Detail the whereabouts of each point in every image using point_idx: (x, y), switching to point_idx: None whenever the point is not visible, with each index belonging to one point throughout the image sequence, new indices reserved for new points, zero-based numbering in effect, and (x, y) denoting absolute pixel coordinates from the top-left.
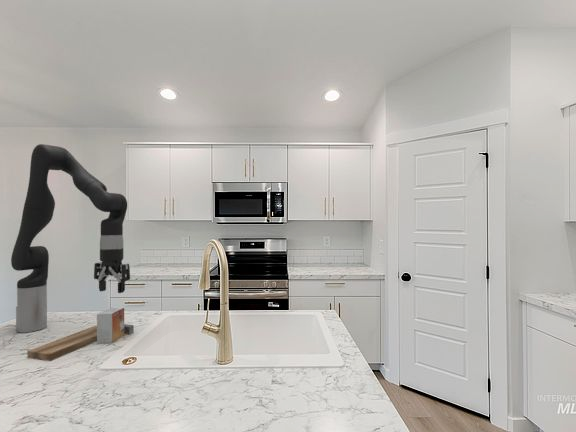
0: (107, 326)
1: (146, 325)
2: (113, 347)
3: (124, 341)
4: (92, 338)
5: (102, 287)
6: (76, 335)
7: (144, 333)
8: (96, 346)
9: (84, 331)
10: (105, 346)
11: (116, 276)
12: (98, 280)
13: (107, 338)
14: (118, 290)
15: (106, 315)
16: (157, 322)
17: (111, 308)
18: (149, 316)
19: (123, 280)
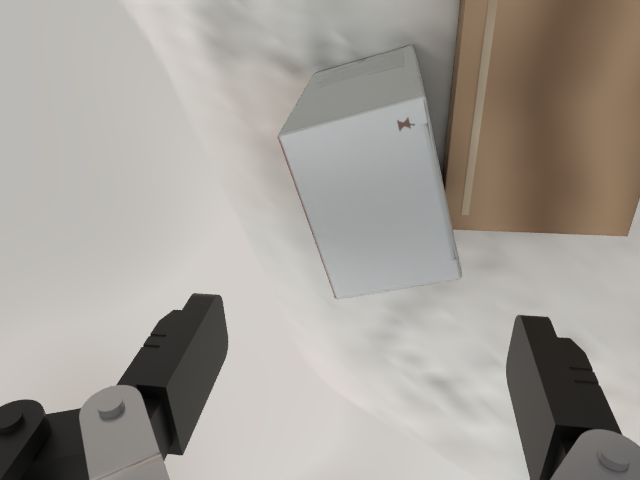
0: (329, 90)
1: (349, 337)
2: (253, 25)
3: (270, 121)
4: (458, 50)
5: (522, 365)
6: (623, 47)
7: (261, 243)
8: (377, 5)
9: (622, 128)
10: (317, 23)
11: (109, 475)
12: (620, 443)
13: (338, 70)
14: (197, 310)
15: (329, 116)
16: (325, 378)
17: (426, 260)
18: (442, 441)
19: (17, 411)
